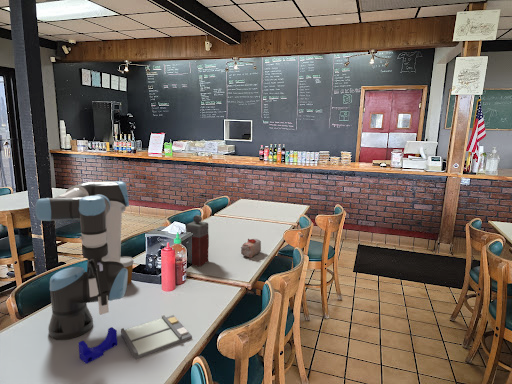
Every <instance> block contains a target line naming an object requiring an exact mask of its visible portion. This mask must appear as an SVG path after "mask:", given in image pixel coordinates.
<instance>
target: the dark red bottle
mask: <svg viewBox="0 0 512 384" xmlns="http://www.w3.org/2000/svg"><path fill="white" fill-rule="evenodd" d="M192 219H193V221H191V222H189V223H187V224H186V228H185V229H186V233H187V232H191V233H193V237H192V264H193V265H192V266H196V267H201V266H203V265H205V264H206V263H208V262H209V246H210V243H209V242H210V239H209V238H210V236H209V222H207V221H202V216H201V215H200V214H196V215H194V216H193V218H192Z"/></svg>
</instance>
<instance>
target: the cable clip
mask: <svg viewBox="0 0 512 384" xmlns="http://www.w3.org/2000/svg"><path fill="white" fill-rule="evenodd" d="M117 333H118V332H117V329H115V328H114V327H113V326H112V327H109V328H108V329H107V333H106V336H105V338H104V340H103V341H102V342H101V343H100V344H98V345H96V346H93V347H88V343H86V342H85V341H84V340H81V341H79V342H78V352H79V354H78V355H79V359H80V360H81V361H82V362H83V363H84V364H85V365H87V364H89V363H90V362H93V361H95V360H97V359H99V358H101V357H102V356H104V352H107V351H108V350H110V349H113V348H114V347H116V346H118V334H117Z"/></svg>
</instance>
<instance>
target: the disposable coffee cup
mask: <svg viewBox="0 0 512 384" xmlns="http://www.w3.org/2000/svg"><path fill="white" fill-rule="evenodd" d="M120 262H121V263H123V264H124V268H126V269H127V270H128V278H127V286H128V285H130V284H131V283H132V277H133V267H134V266H133V265H134V263H135V262H134V259H133V257H132V256H120Z"/></svg>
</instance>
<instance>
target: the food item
mask: <svg viewBox="0 0 512 384" xmlns="http://www.w3.org/2000/svg"><path fill="white" fill-rule="evenodd" d="M261 249H262V242H261V240H260V239H258V238H252V239H250V238H248V239H247V242H246V241H245V242H244V243H243V244H242V245H241V247H240V253H241V255H242V256H243V257H246V258H249V259H252V258H253V257H254V256H256V255H257V254H259V253H261V251H262V250H261Z"/></svg>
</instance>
